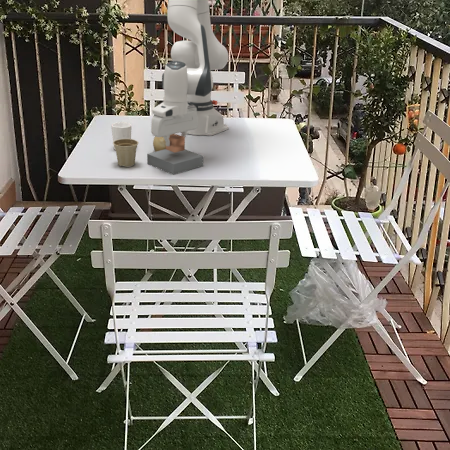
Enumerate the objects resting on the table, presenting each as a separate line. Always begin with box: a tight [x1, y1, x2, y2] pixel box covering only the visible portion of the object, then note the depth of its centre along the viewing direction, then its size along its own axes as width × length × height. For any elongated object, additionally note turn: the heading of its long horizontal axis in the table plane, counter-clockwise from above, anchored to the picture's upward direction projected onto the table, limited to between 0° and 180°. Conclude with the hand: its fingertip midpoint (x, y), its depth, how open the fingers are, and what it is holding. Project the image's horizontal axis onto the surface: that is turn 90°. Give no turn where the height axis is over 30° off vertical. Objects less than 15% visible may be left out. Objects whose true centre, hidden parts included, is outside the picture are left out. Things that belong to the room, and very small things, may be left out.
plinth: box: [146, 148, 204, 175], centre depth 223 cm, size 15×15×4 cm
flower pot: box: [112, 138, 139, 168], centre depth 220 cm, size 9×9×9 cm
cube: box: [166, 133, 186, 153], centre depth 220 cm, size 5×5×5 cm
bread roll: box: [152, 134, 175, 152], centre depth 237 cm, size 10×15×8 cm, turn 2°
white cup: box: [111, 121, 132, 151], centre depth 236 cm, size 8×8×10 cm
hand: (175, 144), depth 220 cm, fingers closed on cube, 5 cm apart
